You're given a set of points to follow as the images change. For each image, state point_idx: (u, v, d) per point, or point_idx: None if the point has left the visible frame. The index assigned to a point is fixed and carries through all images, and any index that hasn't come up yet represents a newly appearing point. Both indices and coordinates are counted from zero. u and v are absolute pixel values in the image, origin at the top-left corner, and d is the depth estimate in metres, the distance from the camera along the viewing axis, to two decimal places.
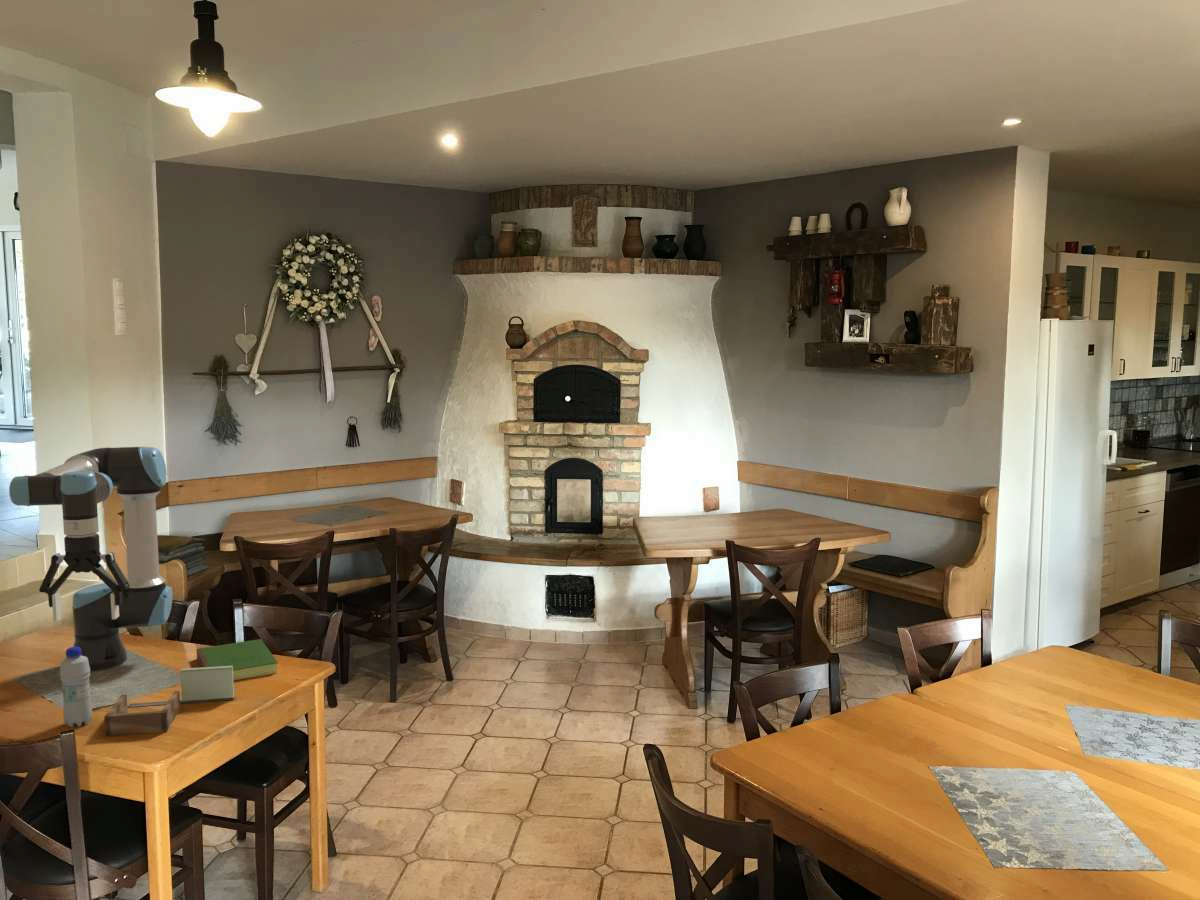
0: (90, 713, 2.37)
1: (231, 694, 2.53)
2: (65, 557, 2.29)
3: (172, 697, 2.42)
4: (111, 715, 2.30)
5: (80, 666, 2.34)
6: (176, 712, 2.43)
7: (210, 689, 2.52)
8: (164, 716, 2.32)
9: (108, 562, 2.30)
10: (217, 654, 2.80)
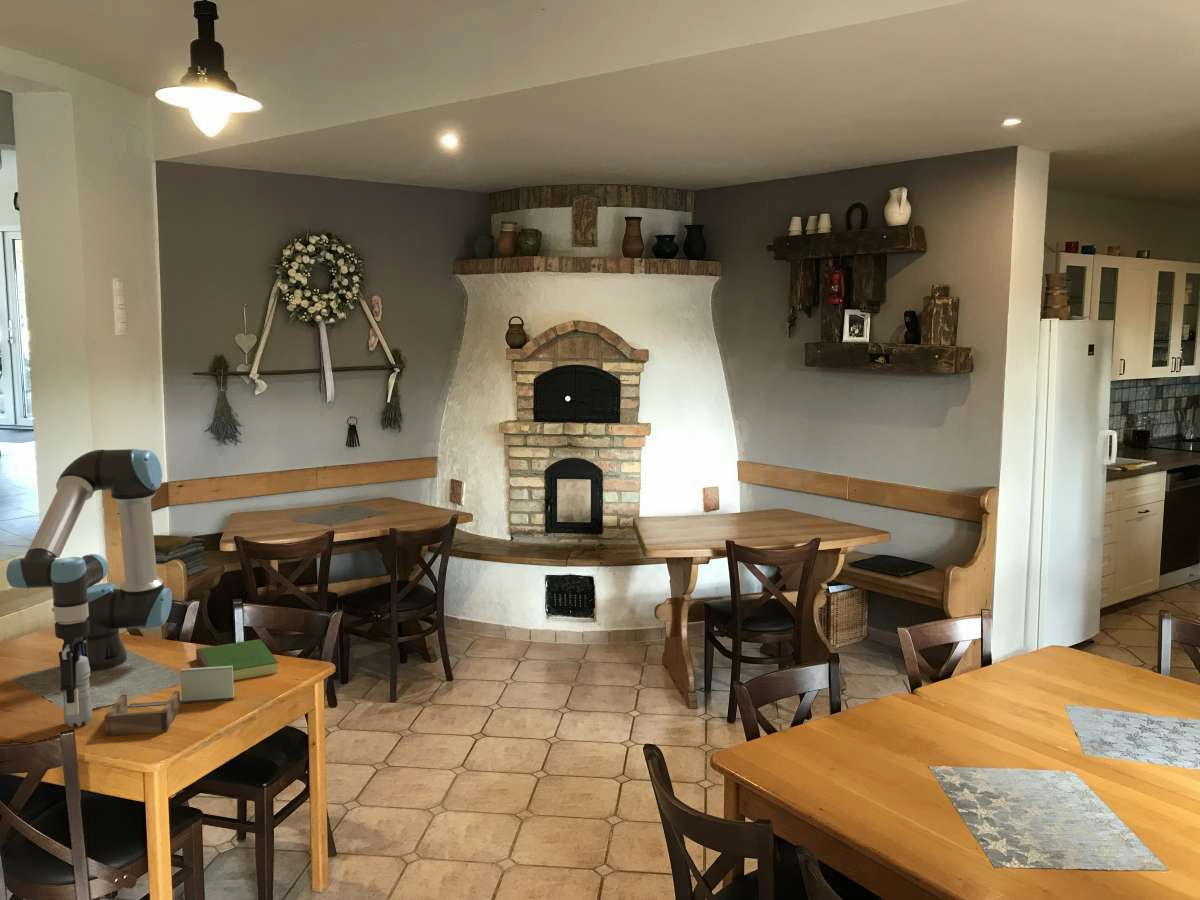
0: (90, 713, 2.37)
1: (231, 694, 2.53)
2: None
3: (172, 697, 2.42)
4: (111, 715, 2.30)
5: (81, 666, 2.34)
6: (176, 712, 2.43)
7: (210, 689, 2.52)
8: (164, 716, 2.32)
9: None
10: (217, 654, 2.80)
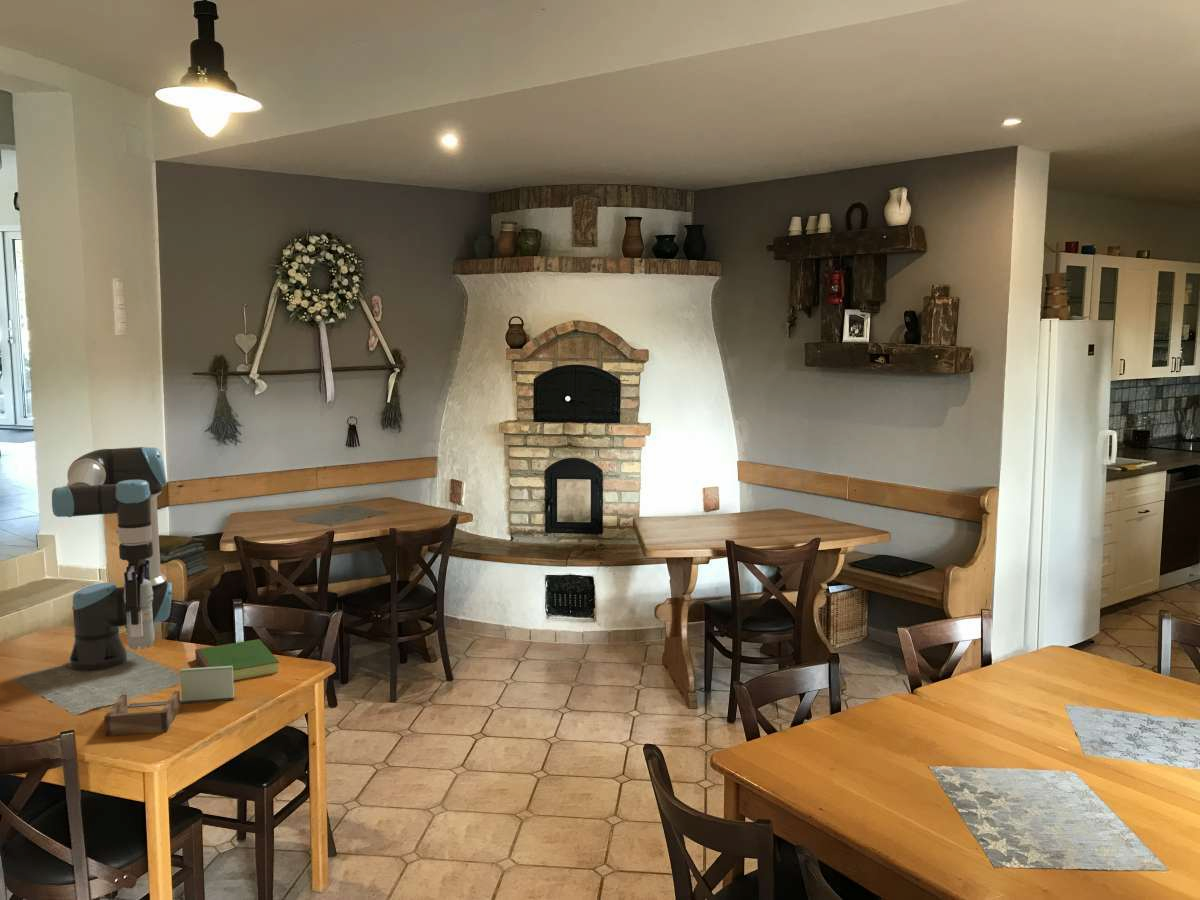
0: (153, 636, 2.37)
1: (231, 694, 2.53)
2: None
3: (172, 697, 2.42)
4: (111, 715, 2.30)
5: (144, 588, 2.34)
6: (176, 712, 2.43)
7: (210, 689, 2.52)
8: (164, 716, 2.32)
9: None
10: (217, 654, 2.79)
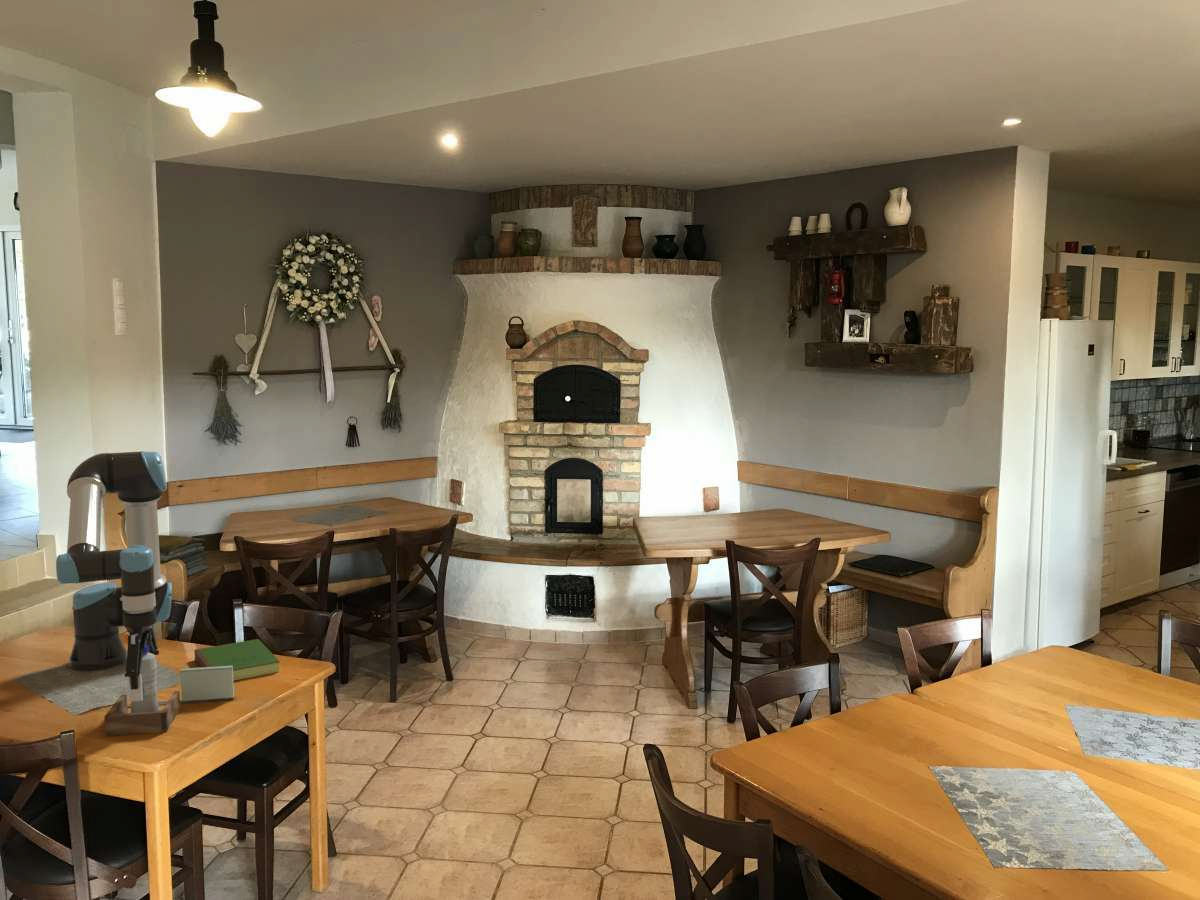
0: (157, 710, 2.40)
1: (231, 694, 2.53)
2: None
3: (172, 697, 2.42)
4: (111, 715, 2.30)
5: (148, 663, 2.36)
6: (176, 712, 2.43)
7: (210, 689, 2.52)
8: (164, 716, 2.32)
9: None
10: (217, 654, 2.79)
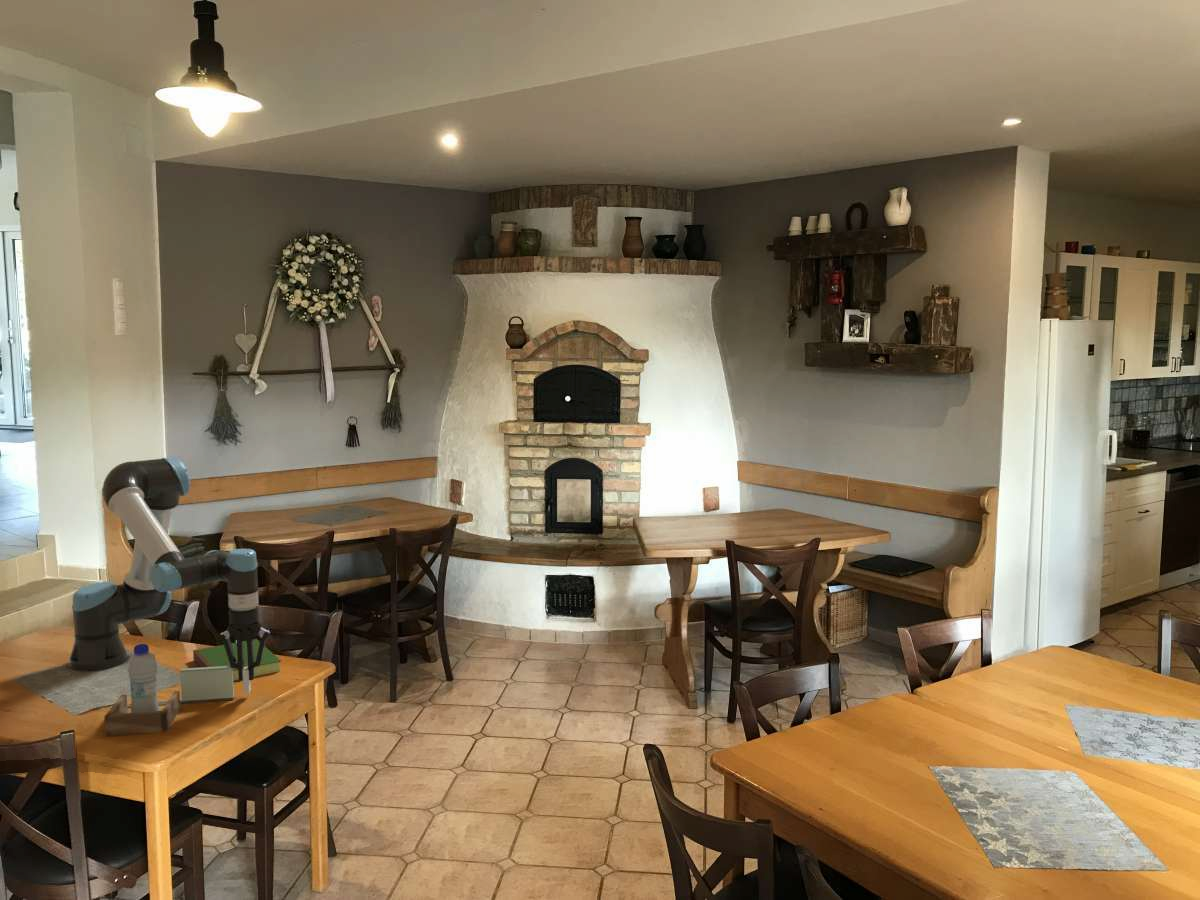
0: (157, 710, 2.40)
1: (231, 694, 2.53)
2: (229, 630, 2.50)
3: (172, 697, 2.42)
4: (111, 715, 2.30)
5: (148, 663, 2.36)
6: (176, 712, 2.43)
7: (210, 689, 2.52)
8: (164, 716, 2.32)
9: (263, 638, 2.53)
10: (216, 654, 2.79)
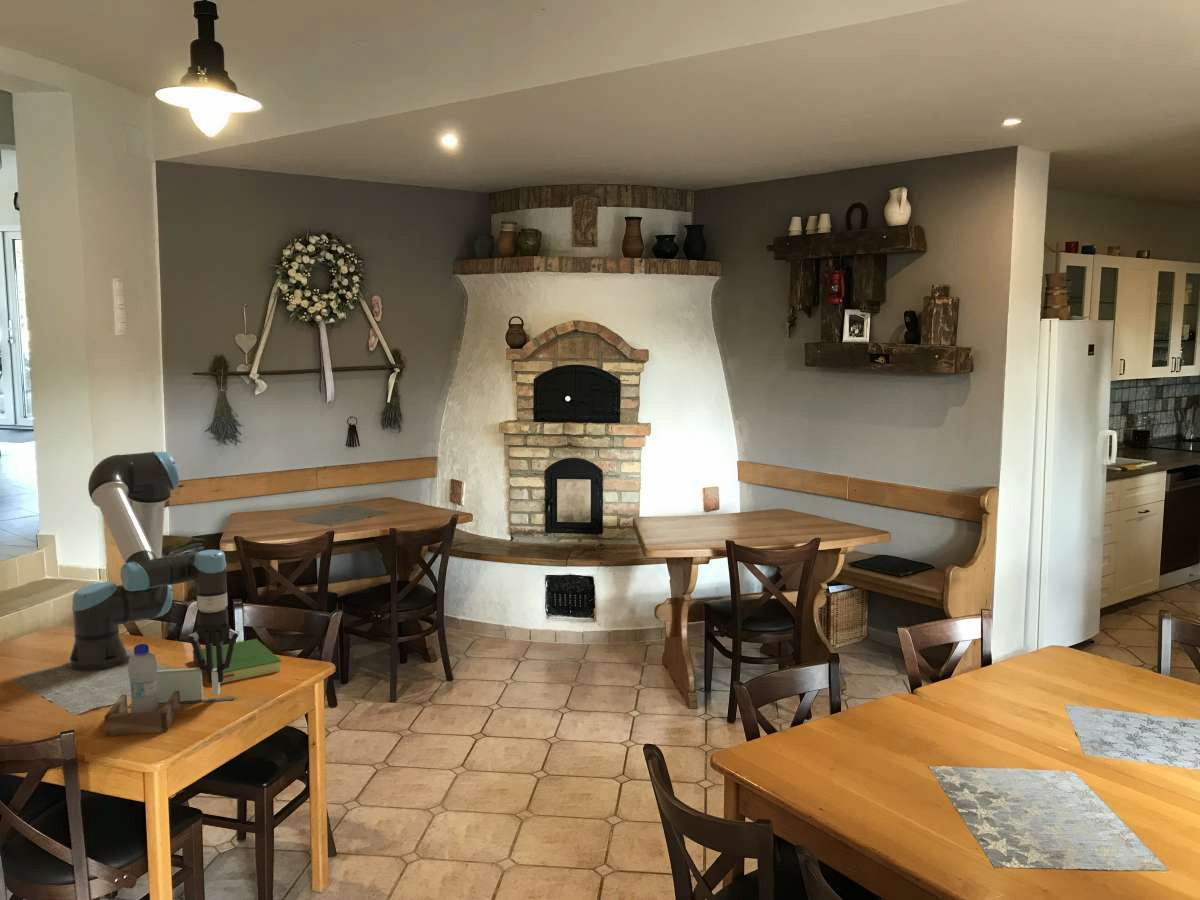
0: (157, 710, 2.40)
1: (200, 696, 2.52)
2: (197, 631, 2.49)
3: (172, 697, 2.42)
4: (111, 715, 2.30)
5: (148, 663, 2.36)
6: (176, 712, 2.43)
7: (179, 691, 2.50)
8: (164, 716, 2.32)
9: (232, 640, 2.51)
10: None
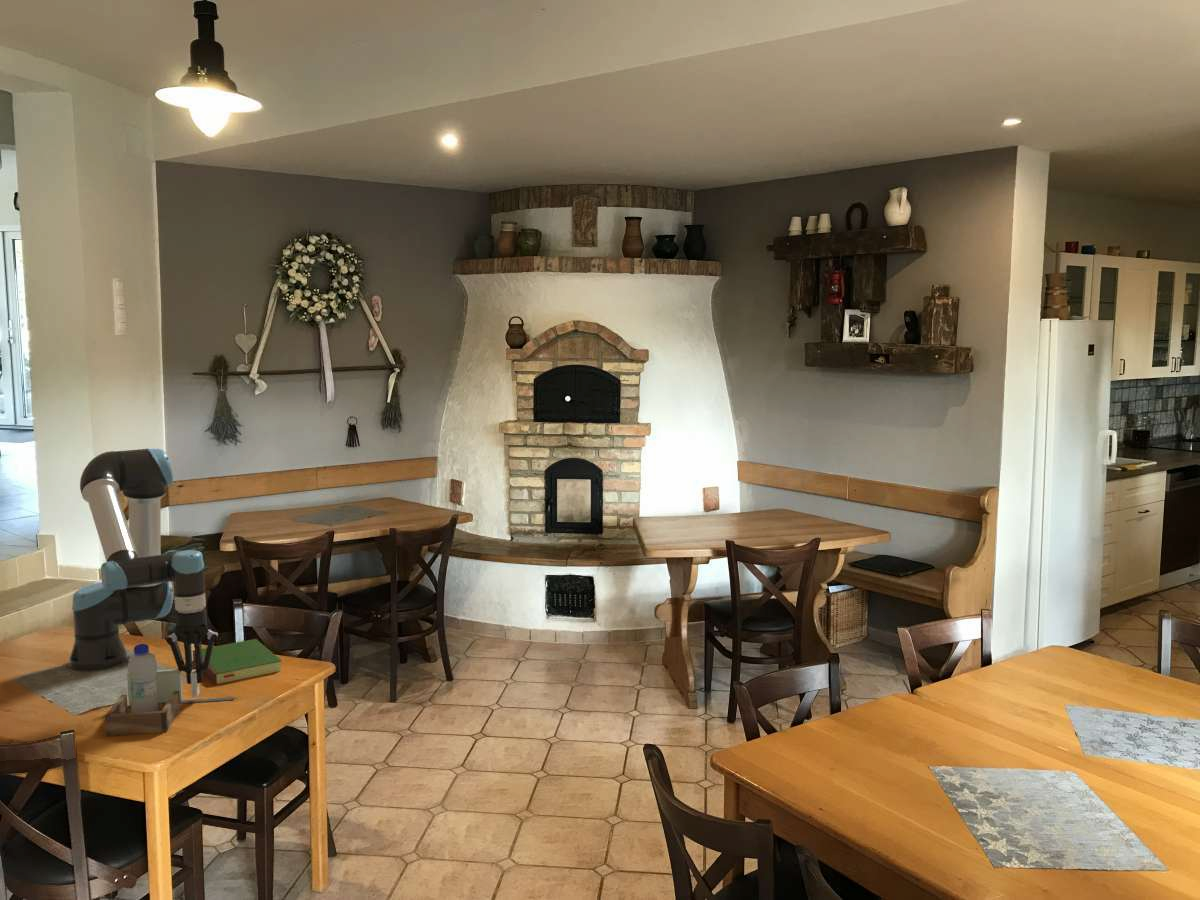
0: (157, 710, 2.40)
1: None
2: (176, 632, 2.48)
3: (172, 697, 2.42)
4: (111, 715, 2.30)
5: (148, 663, 2.36)
6: (176, 712, 2.43)
7: (158, 692, 2.49)
8: (164, 716, 2.32)
9: (211, 641, 2.50)
10: (216, 655, 2.79)
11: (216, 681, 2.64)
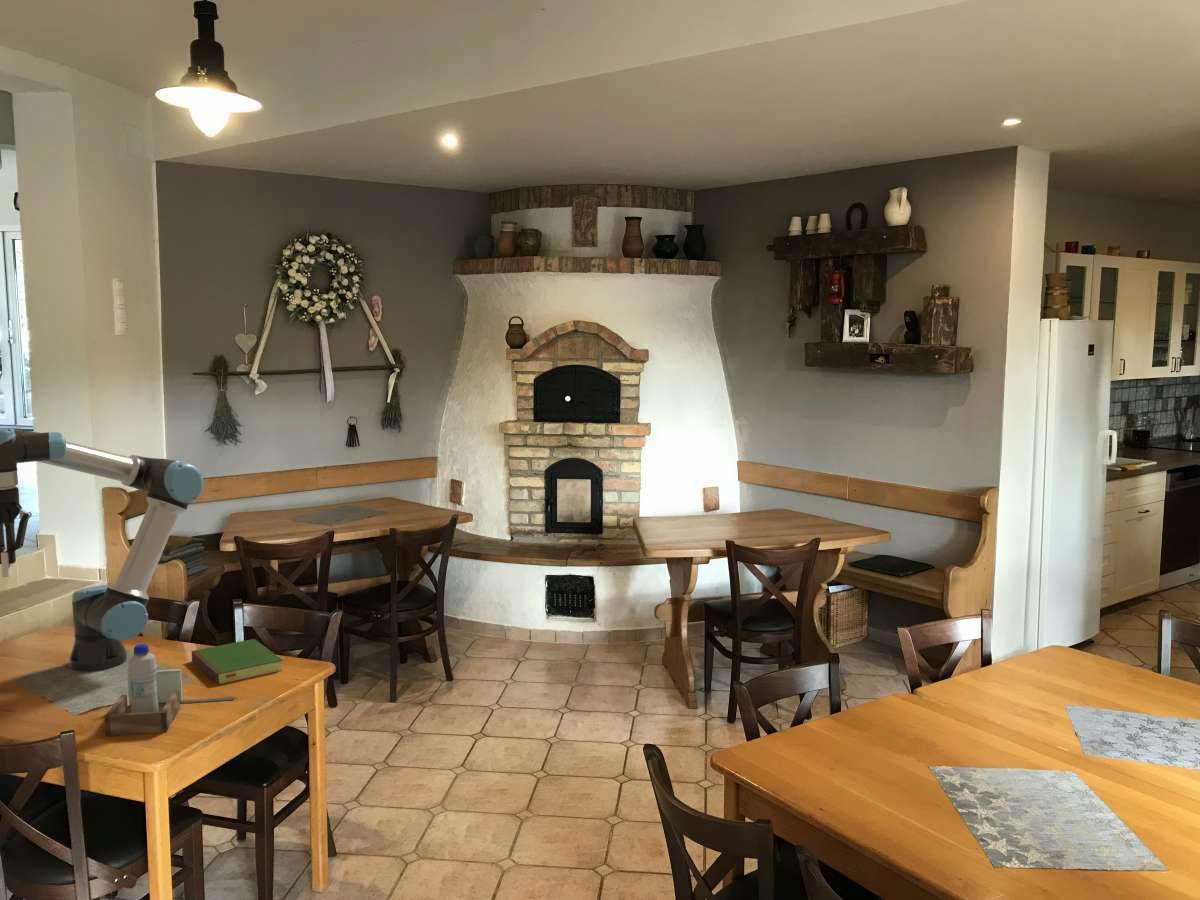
0: (157, 710, 2.40)
1: None
2: None
3: (172, 697, 2.42)
4: (111, 715, 2.30)
5: (148, 663, 2.36)
6: (176, 712, 2.43)
7: (158, 692, 2.49)
8: (164, 716, 2.32)
9: (22, 520, 2.45)
10: (216, 655, 2.79)
11: (218, 681, 2.64)
